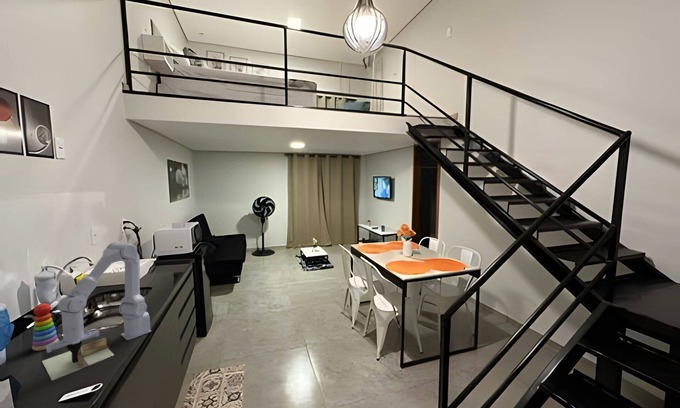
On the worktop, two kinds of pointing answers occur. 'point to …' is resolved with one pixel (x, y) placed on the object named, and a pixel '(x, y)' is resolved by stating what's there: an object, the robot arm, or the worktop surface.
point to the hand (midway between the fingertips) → (75, 361)
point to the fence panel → (80, 358)
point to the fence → (94, 346)
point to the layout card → (64, 363)
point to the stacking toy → (43, 328)
